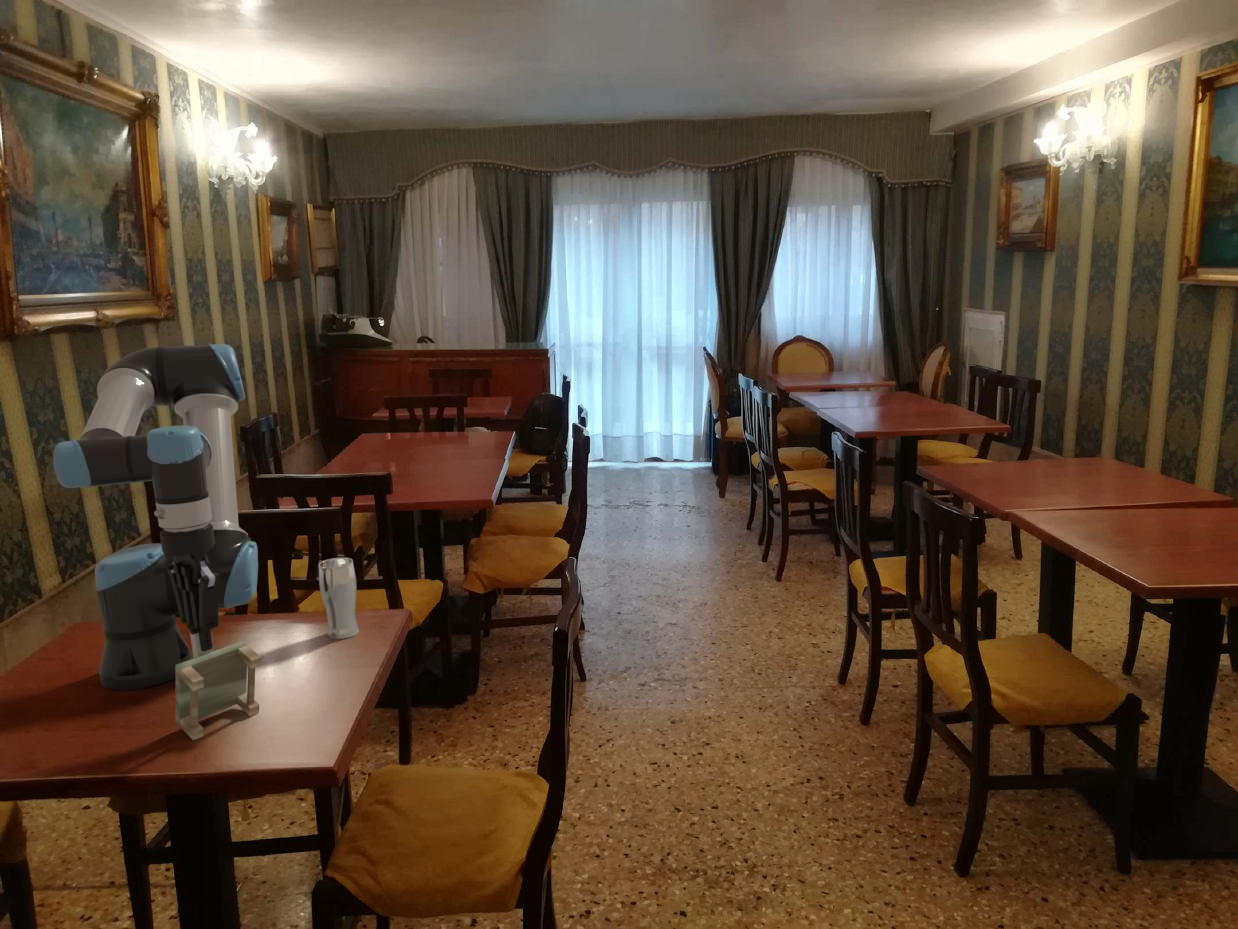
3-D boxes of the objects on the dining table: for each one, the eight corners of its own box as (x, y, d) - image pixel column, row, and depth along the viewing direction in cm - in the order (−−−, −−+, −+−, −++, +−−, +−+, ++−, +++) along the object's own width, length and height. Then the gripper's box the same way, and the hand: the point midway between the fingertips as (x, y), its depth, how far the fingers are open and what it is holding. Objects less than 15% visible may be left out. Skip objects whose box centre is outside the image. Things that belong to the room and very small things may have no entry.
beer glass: (341, 643, 174) (333, 570, 171) (317, 636, 178) (309, 565, 175) (368, 630, 180) (361, 560, 177) (345, 624, 184) (338, 555, 180)
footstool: (175, 722, 141) (175, 664, 137) (241, 696, 149) (242, 641, 145) (193, 740, 138) (193, 682, 134) (259, 712, 147) (261, 657, 143)
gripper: (142, 525, 139) (163, 666, 144) (181, 537, 131) (202, 686, 136) (190, 515, 145) (208, 650, 150) (230, 526, 137) (248, 669, 141)
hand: (205, 667), depth 143 cm, fingers closed
